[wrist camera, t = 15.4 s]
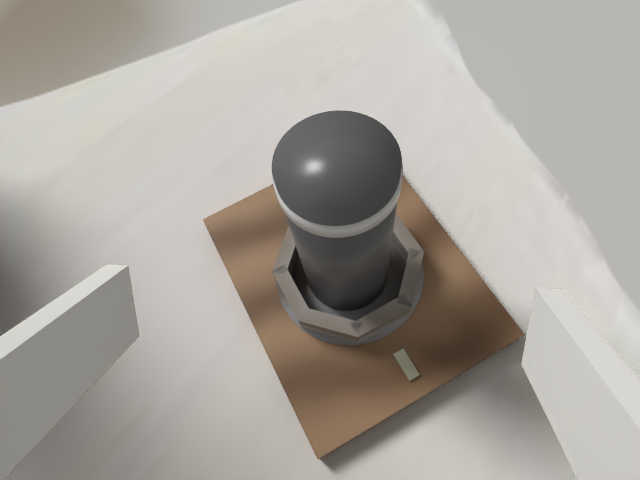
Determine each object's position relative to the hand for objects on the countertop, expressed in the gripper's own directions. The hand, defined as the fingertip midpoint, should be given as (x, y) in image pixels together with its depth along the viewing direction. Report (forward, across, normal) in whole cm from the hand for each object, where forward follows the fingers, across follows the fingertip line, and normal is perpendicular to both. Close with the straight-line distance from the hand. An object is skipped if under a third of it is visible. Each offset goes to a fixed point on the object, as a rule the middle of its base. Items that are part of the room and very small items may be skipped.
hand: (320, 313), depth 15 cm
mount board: (+19, 0, -7) cm, 20 cm away
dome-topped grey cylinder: (+18, 0, -6) cm, 19 cm away
